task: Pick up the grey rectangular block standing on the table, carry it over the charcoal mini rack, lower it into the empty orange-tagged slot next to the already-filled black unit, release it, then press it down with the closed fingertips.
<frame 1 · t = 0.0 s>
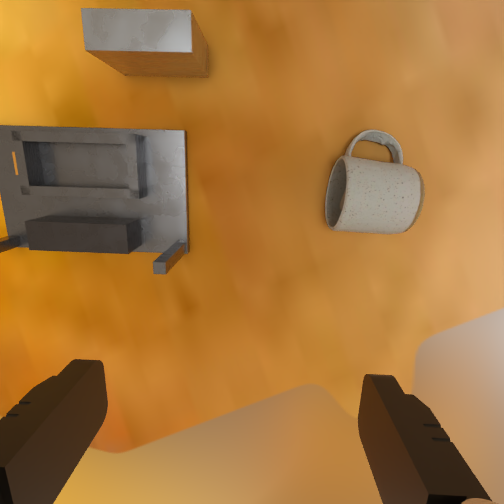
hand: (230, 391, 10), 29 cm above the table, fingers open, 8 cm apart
ceramic mug: (359, 181, 36), on the table
grey rectangular block: (166, 60, 34), on the table
rack: (96, 191, 38), on the table
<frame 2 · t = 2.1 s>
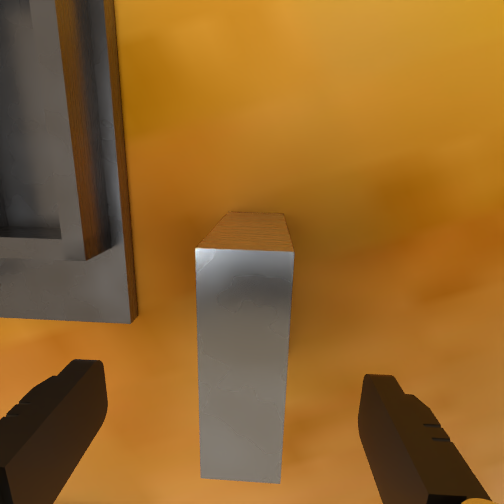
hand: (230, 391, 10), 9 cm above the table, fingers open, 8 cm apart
grey rectangular block: (253, 289, 18), on the table
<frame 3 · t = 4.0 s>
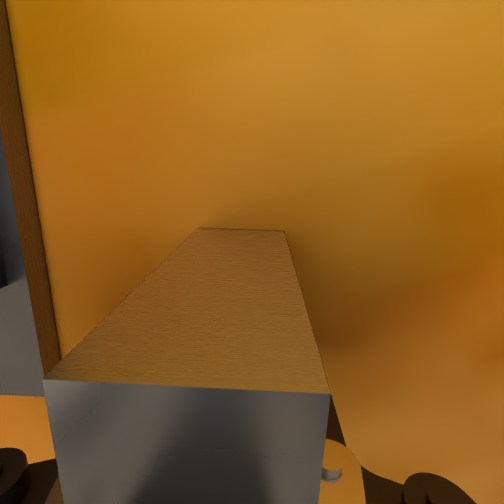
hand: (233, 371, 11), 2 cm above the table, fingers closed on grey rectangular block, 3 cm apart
grey rectangular block: (238, 344, 12), on the table, touching gripper
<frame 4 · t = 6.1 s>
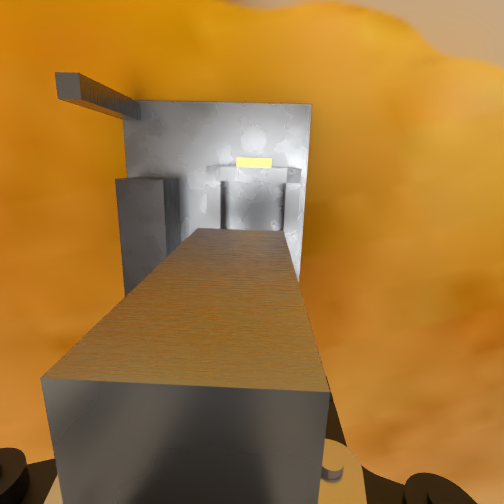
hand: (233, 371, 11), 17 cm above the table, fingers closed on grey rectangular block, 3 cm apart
grey rectangular block: (238, 344, 12), point 15 cm above the table, touching gripper
rack: (217, 244, 27), on the table
when the fingers open (4 cm above the table, at t = 8.4 s): grey rectangular block drops 1 cm, resting on rack.
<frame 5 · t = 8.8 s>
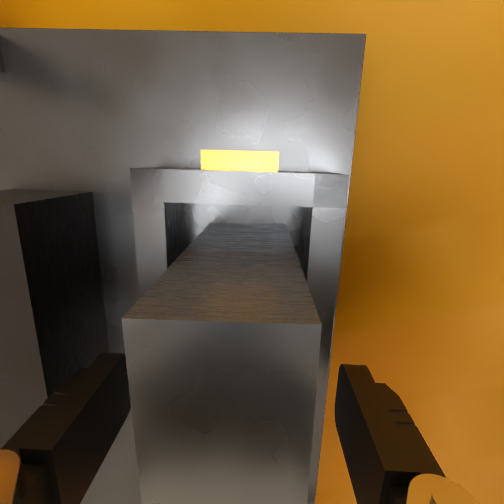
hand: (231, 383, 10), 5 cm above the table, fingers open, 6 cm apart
grey rectangular block: (246, 326, 14), point 1 cm above the table, touching rack
rack: (177, 311, 15), on the table
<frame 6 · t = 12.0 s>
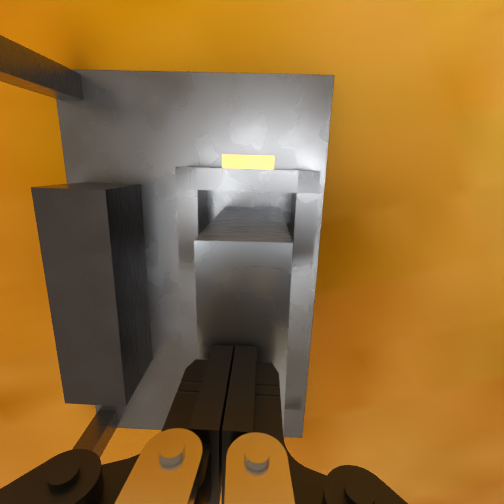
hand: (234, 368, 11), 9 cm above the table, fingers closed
grey rectangular block: (251, 283, 18), point 1 cm above the table, touching gripper, rack
rack: (199, 275, 20), on the table
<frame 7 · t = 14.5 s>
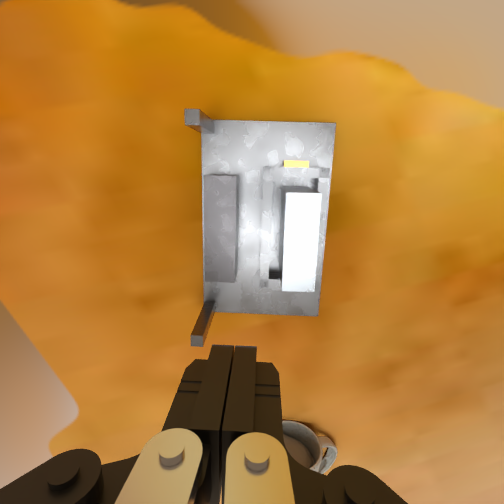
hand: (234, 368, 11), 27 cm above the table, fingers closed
ceramic mug: (296, 440, 45), on the table
grey rectangular block: (293, 226, 36), point 1 cm above the table, touching rack
rack: (264, 223, 37), on the table
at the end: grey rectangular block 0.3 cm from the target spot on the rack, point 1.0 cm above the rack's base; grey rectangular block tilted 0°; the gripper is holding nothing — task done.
